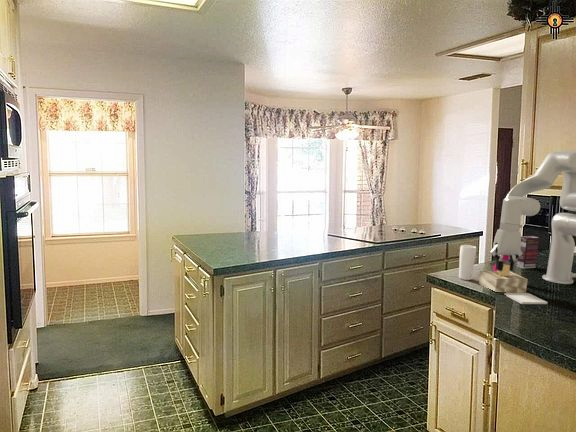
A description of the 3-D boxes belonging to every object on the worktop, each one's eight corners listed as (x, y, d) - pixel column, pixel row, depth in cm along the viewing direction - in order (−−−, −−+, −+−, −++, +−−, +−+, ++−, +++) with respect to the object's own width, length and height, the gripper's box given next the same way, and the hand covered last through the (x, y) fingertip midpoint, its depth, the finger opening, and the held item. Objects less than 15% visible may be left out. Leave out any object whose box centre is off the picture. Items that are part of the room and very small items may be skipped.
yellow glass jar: (503, 287, 203) (506, 259, 201) (509, 290, 198) (513, 262, 197) (493, 286, 202) (497, 259, 200) (500, 290, 198) (503, 262, 196)
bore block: (508, 284, 207) (509, 271, 206) (525, 293, 195) (527, 279, 195) (478, 284, 205) (480, 270, 204) (494, 292, 193) (496, 278, 192)
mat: (528, 295, 193) (528, 293, 193) (547, 304, 182) (547, 302, 182) (504, 294, 191) (504, 292, 191) (521, 304, 180) (521, 302, 180)
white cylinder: (453, 277, 214) (457, 244, 212) (465, 276, 217) (468, 244, 214) (464, 281, 208) (468, 248, 206) (476, 280, 211) (480, 247, 208)
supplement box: (528, 265, 246) (532, 235, 244) (536, 268, 242) (540, 237, 239) (515, 266, 243) (519, 236, 241) (523, 268, 239) (527, 237, 236)
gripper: (522, 226, 201) (516, 267, 204) (485, 225, 198) (480, 267, 201) (533, 229, 194) (527, 272, 197) (496, 228, 191) (490, 272, 194)
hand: (504, 269), depth 199 cm, fingers closed on yellow glass jar, 4 cm apart
